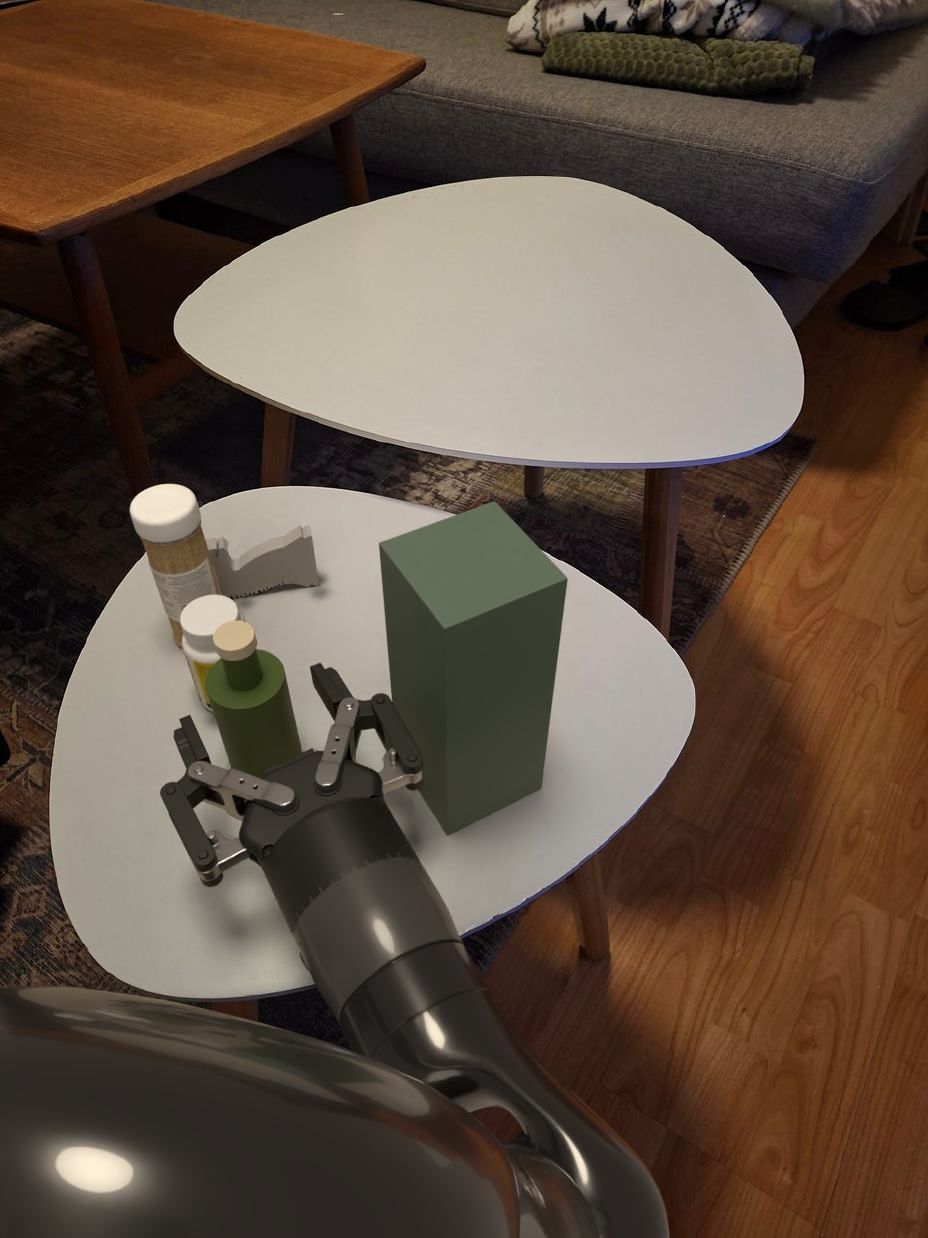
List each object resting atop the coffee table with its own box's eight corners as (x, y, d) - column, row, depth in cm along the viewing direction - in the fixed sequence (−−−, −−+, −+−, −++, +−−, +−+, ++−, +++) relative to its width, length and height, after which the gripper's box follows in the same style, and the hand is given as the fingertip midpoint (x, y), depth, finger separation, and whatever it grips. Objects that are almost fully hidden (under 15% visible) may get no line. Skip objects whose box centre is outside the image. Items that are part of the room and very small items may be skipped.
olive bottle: (245, 801, 60) (206, 678, 51) (221, 748, 63) (180, 623, 54) (313, 770, 62) (288, 646, 53) (286, 721, 65) (258, 595, 56)
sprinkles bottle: (229, 609, 73) (195, 477, 63) (231, 649, 70) (196, 517, 60) (172, 617, 72) (129, 485, 63) (172, 658, 69) (126, 526, 59)
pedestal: (447, 835, 59) (444, 628, 44) (396, 754, 63) (378, 542, 49) (541, 788, 61) (568, 577, 47) (486, 713, 66) (494, 500, 51)
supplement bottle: (276, 691, 67) (258, 613, 61) (225, 727, 65) (201, 650, 58) (237, 658, 69) (216, 580, 63) (186, 692, 67) (159, 615, 61)
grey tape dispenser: (318, 586, 75) (198, 604, 73) (316, 575, 76) (197, 593, 74) (311, 534, 71) (183, 552, 69) (309, 524, 72) (183, 541, 70)
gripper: (483, 811, 46) (350, 616, 55) (218, 945, 41) (123, 704, 50) (480, 881, 51) (360, 692, 61) (246, 1007, 46) (155, 778, 56)
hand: (252, 698), depth 56 cm, fingers open, 8 cm apart
